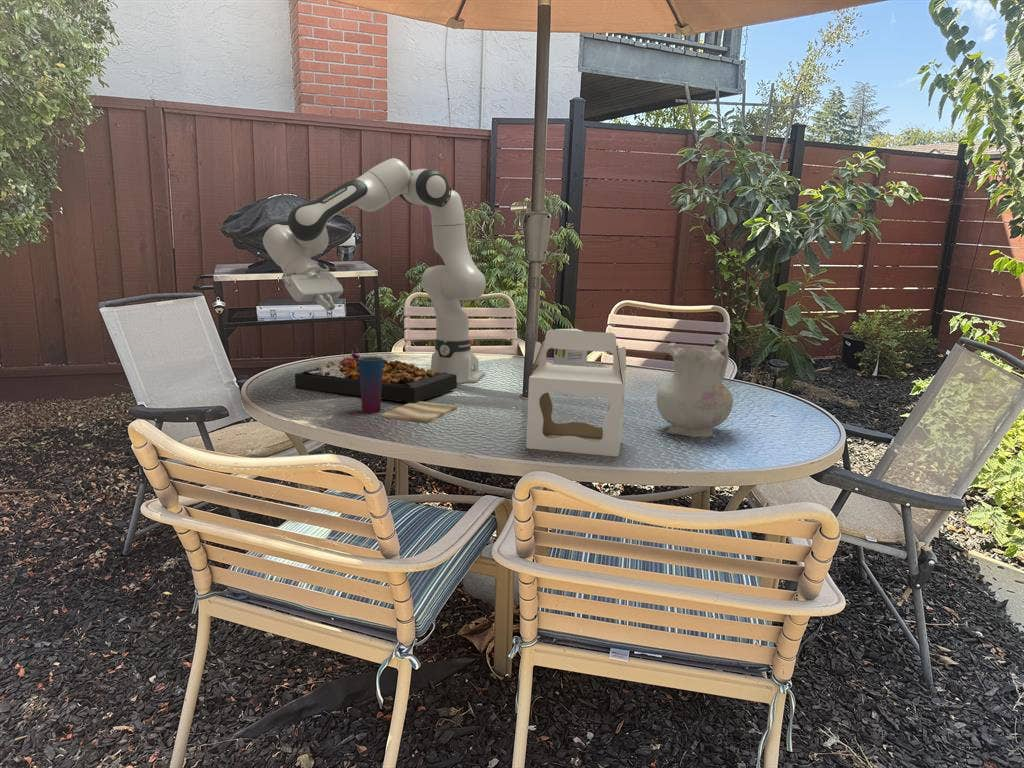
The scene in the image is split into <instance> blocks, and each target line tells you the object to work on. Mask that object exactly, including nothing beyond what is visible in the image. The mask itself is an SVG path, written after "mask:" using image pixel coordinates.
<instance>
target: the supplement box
mask: <svg viewBox="0 0 1024 768" xmlns="http://www.w3.org/2000/svg"><path fill="white" fill-rule="evenodd" d="M554 330H571V331H583V330H582V329H578V328H555V329H554ZM588 352H589V351H584V350H568V349H553V353H554V354H553V364H554V365H569V366H583V367H588V366H587V365H588Z"/></svg>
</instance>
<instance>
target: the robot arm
mask: <svg viewBox="0 0 1024 768" xmlns="http://www.w3.org/2000/svg"><path fill="white" fill-rule="evenodd" d="M396 197H400V198H401V200H403V201H404V202H406V203H408V204H410V205H418V206H427V208H428V209H429V212H430V216H431V229H432V230H431V231H432V240H433V241H432V243H433V248H434V251H435V252H436V253H437V254H438V255H439V256H440V257H441V258H442V261H443V263H444V265H442V264H441V265H435V266H430V267H428V268H426V269H425V270H424V272H423V273H422V276H421V286H422V288H423V290H424V292H426V294H427V295H428V297H429V298H430V301H431V303H432V307H433V310H434V314H435V325H436V326H435V327H436V328H435V329H436V330H435V331H436V333H435V334H436V335H435V336H436V337H435V339H434V350H435V351H434V352H433V353H432V354H431V360H430V370H433V371H434V372H436V373H445V372H446V373H448V374H455V375H456V376H457V384H461V383H463V384H464V383H478V382H479V381H480V380H481V379H482V378H483V377H484V376H485V375H486V372H485V371H480V370H479V368H480V367H479V359H478V358H477V356H476V355H475V354H474V353H473V351H472V348H471V346H472V345H474V340H473V339H472V338H469V327H470V324H469V322H470V319H469V316H468V314H467V313H466V312H465V311H464V309H463V308H462V306H461V304H460V301H470V300H471V301H472V300H476V299H479V298H481V297H482V296H483V294H484V292H485V290H486V286H487V281H486V278H485V275H484V274H483V272H482V271H480V270H479V268H478V267H477V265H476V264H475V262H474V260H473V259H472V256H471V253H470V250H469V246H468V239H467V229H466V228H467V227H466V217H465V211H464V206H463V202H462V198H461V195H460V194H459V193H458V192H457V191H456V190H454V189H452V188H451V186H450V184H449V181H448V179H447V178H446V176H445V174H443V173H442V172H441V171H439V170H437V169H434V168H419V169H413V170H410V169H409V168H408V166H407V165H406V164H405V162H404V161H402V160H401V159H398V158H394V157H393V158H389V159H387V160H384V161H382V162H380V163H379V164H377V165H374V166H373V167H372V168H370V169H369V170H367V171H366V172H364V173H363V174H361V175H360V176H358V177H357V178H355V179H351V180H349V181H346V182H345V183H343V184H342V183H341V185H339V186H337V187H336V188H334V189H332V190H331V191H328V192H327V193H326V194H324V195H322V196H320V197H319V198H316V199H314V200H312V201H309V202H305V203H301V204H298V205H296V206H295V207H294V208H293V209H292V210H291V211H290V212H289V214H288V217H287V224H285V225H284V224H278V223H277V224H276V223H275V224H274V225H271V226H270V227H269V228H267V230H266V231H265V233H264V235H263V237H262V243H263V246H264V247H263V248H264V249H265V251H266V252H267V253H268V255H269V257H271V259H272V261H273V262H274V263H275V264H276V265H277V266H279V268H281V270H282V275H281V280H282V282H283V283H284V287H285V289H286V290H287V292H288V294H290V296H291V298H292V299H293V300H294V301H295V302H297V303H303V302H312V301H315V303H316V304H318V305H319V306H321V307H323V308H324V309H325V311H332V310H334V309H335V308H336V305H335V303H334V302H333V300H334V299H338V298H340V296H341V295H342V294H343V293H344V288H343V285H342V284H341V283H340V281H339V280H338V278H336V277H335V275H334V274H332V273H333V272H330V268H329V266H327V264H325V263H322V262H318V261H316V260H315V259H312V258H314V257H316V256H318V255H320V254H322V253H324V252H325V251H326V249H327V248H328V246H329V244H330V238H329V233H328V229H327V224H328V222H329V221H330V220H331V219H332V218H333V217H335V216H336V215H338V214H340V213H341V212H343V211H345V210H346V209H348V208H350V207H352V206H355V207H358V208H359V209H361V210H362V211H364V212H369V213H370V212H372V213H373V212H375V211H377V210H380V209H382V208H383V207H385V206H386V205H388V204H389V203H391V201H392V200H395V198H396Z"/></svg>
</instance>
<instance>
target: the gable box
mask: <svg viewBox="0 0 1024 768" xmlns="http://www.w3.org/2000/svg"><path fill="white" fill-rule="evenodd" d="M544 338H545V339H544V340H543V341H542V343H541V342H540V341H535V345H534V353H533V361H532V364H533V366H532V368H531V371H530V374H529V376H528V391H527V392H528V395H527V397H528V398H527V417H526V418H527V421H526V444H525V445H526V446H525V448H526V449H528V450H529V449H530V450H538V451H540V450H541V451H549V452H560V453H561V452H562V453H571V454H582V455H594V456H605V457H615V458H618V457H619V454H620V450H621V444H622V435H623V423H624V421H623V419H624V405H625V394H626V393H625V389H626V377H627V374H626V370H627V349H626V346H622V347H620V348H619V345H618V344H617V337H616V334H614V333H613V332H605V331H604V332H603V331H585V330H582V331H571V330H555V329H548V330H547V331H546V333H545V337H544ZM549 349H551V350H554V349H568V350H584V351H588V352H600V353H601V352H602V353H606V354H608V353H611V355H612V357H613V358H612V359H613V360H612V368H610V367H599V366H598V367H597V366H596V367H594V366H587V367H583V366H569V365H554V363H553V364H551V363H547V353H548V351H549ZM550 393H561V394H565V395H570V396H574V397H579V398H580V397H581V398H582V397H583V398H584V397H585V398H588V397H597V398H598V397H600V398H602V399H603V398H604V399H606V400H607V401H608V403H609V406H608V408H607V411H606V412H607V413H606V415H605V417H604V419H603V422H602V427H599V426H595V425H592V424H589V423H586V422H581V421H579V422H578V421H574V422H565V423H559V422H558V423H557V422H554V421H553V419H552V413H553V409H554V408H553V407H554V406H553V402H552V399H551V396H550Z"/></svg>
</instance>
